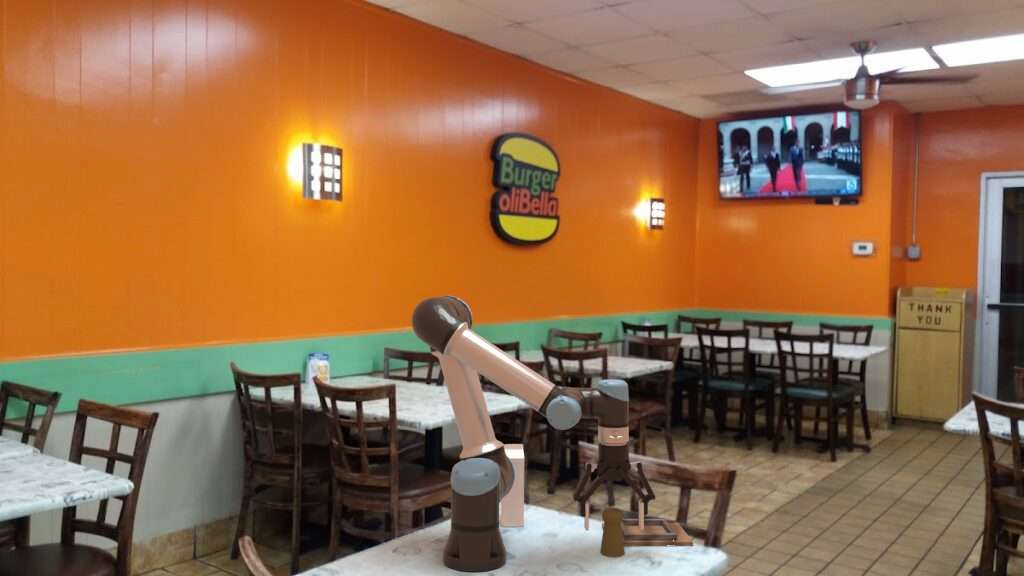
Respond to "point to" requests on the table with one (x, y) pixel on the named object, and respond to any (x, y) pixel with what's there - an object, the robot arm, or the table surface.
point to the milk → (514, 490)
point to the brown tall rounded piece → (612, 533)
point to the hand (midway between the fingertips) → (614, 528)
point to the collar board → (653, 533)
